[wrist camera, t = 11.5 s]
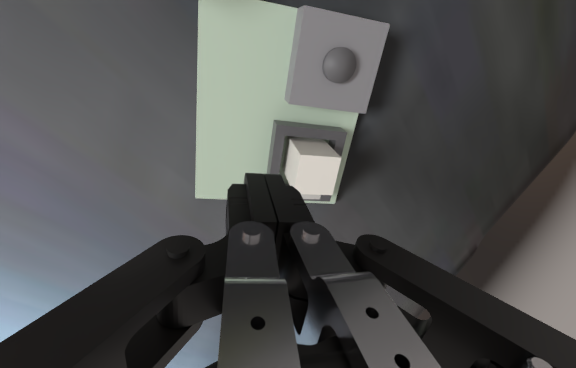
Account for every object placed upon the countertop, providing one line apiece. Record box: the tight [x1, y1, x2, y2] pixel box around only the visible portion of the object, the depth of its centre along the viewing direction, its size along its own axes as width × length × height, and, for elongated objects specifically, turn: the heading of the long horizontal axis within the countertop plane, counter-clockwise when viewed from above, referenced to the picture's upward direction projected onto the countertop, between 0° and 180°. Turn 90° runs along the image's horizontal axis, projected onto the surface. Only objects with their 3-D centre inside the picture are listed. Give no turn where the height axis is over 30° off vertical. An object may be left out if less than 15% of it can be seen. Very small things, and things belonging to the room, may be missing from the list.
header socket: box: [266, 120, 347, 202], centre depth 31 cm, size 8×8×2 cm
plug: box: [283, 136, 341, 199], centre depth 29 cm, size 5×4×6 cm
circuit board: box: [195, 0, 390, 204], centre depth 28 cm, size 20×17×4 cm
